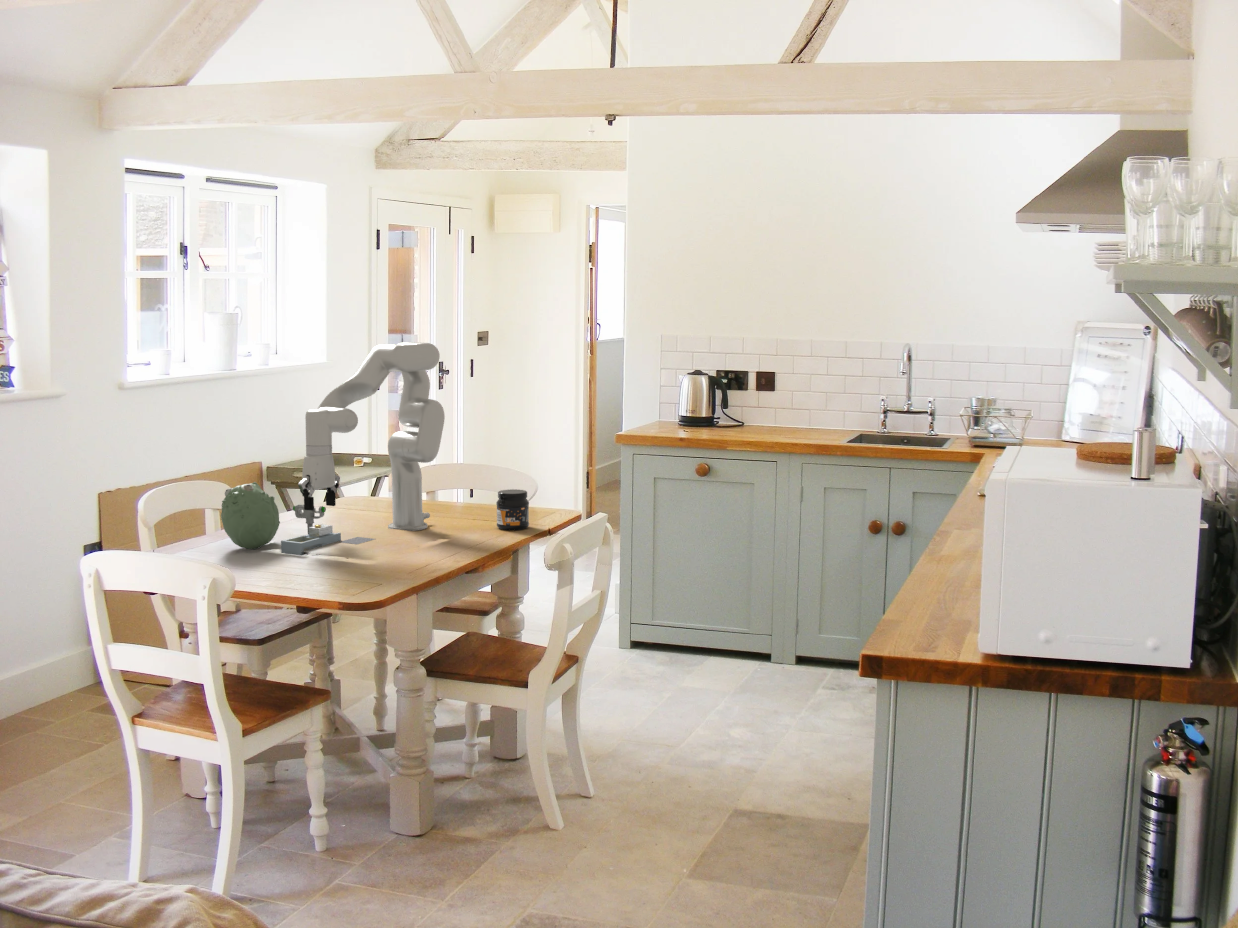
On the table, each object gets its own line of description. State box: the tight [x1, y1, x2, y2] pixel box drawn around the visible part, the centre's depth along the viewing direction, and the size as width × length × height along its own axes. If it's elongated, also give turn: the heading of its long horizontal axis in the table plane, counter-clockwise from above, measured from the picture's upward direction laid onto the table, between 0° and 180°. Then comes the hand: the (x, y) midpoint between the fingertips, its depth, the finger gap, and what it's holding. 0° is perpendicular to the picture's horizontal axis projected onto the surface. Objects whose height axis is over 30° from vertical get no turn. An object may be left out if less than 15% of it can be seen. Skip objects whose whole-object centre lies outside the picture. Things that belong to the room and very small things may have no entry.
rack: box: [280, 532, 342, 556], centre depth 356 cm, size 18×8×4 cm, turn 153°
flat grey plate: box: [339, 536, 375, 545], centre depth 362 cm, size 9×7×1 cm
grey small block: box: [308, 523, 334, 538], centre depth 359 cm, size 6×4×3 cm, turn 153°
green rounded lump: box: [220, 481, 281, 550], centre depth 354 cm, size 16×19×20 cm
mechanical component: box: [292, 504, 327, 535], centre depth 372 cm, size 3×10×10 cm, turn 78°
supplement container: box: [496, 488, 530, 531], centre depth 388 cm, size 10×10×12 cm
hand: (320, 507), depth 358 cm, fingers open, 9 cm apart
